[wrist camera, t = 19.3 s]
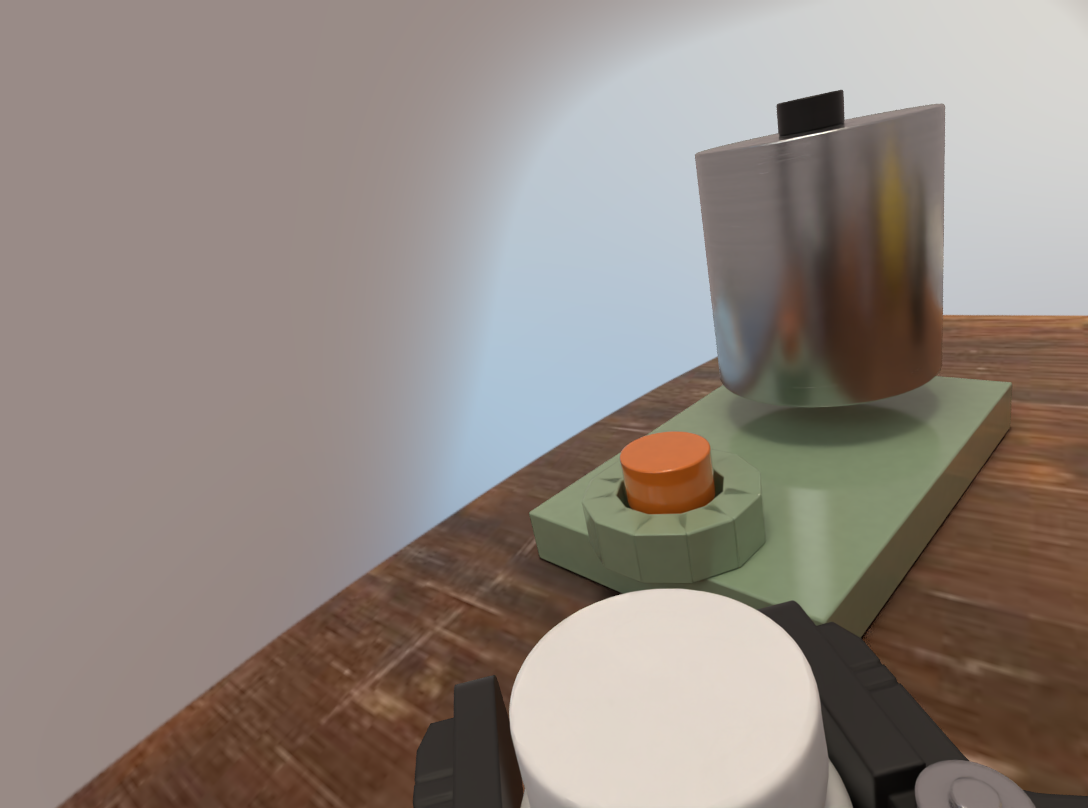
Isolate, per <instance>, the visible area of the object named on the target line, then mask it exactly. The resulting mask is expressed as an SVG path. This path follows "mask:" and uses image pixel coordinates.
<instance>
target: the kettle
mask: <svg viewBox="0 0 1088 808" xmlns="http://www.w3.org/2000/svg"><path fill="white" fill-rule="evenodd" d="M777 118H778V134H773V135H768V136H763V137H759V138H754V139H750V140H745V141H741V142H737V143H732V144H728V145H724V146H720V147H716V148H712V149H708V150H704V151H701V152H698V153H696V154H695V159H696V169H697V177H698V186H699V195H700V204H701V213H702V221H703V230H704V239H705V247H706V257H707V265H708V274H709V283H710V291H711V301H712V309H713V318H714V327H715V335H716V345H717V353H718V362H719V371H720V380H721V382H722V384H723V386H724V387H725V388H726V389H727V390H729V391H730V392H732V393H733V394H735V395H737V396H740V397H742V398H745V399H748V400H751V401H755V402H760V403H765V404H771V405H778V406H788V407H835V406H846V405H855V404H862V403H869V402H874V401H878V400H883V399H887V398H891V397H895V396H898V395H901V394H904V393H907V392H910V391H912V390H915V389H917V388H919V387H921V386H923V385H925V384H927V383H928V382H930V381H931V380H932V379H933V378H935V377H936V376H937V374H938V373H939V372H940V370H941V367H942V337H943V246H944V244H943V242H944V154H945V148H944V147H945V105H944V104H932V105H925V106H919V107H913V108H906V109H901V110H895V111H889V112H884V113H878V114H873V115H867V116H862V117H857V118H852V119H847V120H844V97H843V90H838V91H833V92H829V93H824V94H820V95H815V96H810V97H806V98H801V99H797V100H793V101H788V102H783V103H779V104H777Z"/></svg>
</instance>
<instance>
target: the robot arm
mask: <svg viewBox="0 0 1088 808" xmlns="http://www.w3.org/2000/svg"><path fill="white" fill-rule="evenodd" d="M756 610H757V611H759V612H761V613H762V614H764V615H766V616H767V617H769V618H770V619H771V620H773V621H774V622H775V623H777V624H778V625H779V626H780V627H782V628H783V629H784V630H785V631H786V632H787V633H788V634H789V635H790V636H791V637H792V639H793V640H794V641H795V642H796V643H797V645H798V646H799V648H800V649H801V651H802V652H803V654H804V656H805V657H806V659H807V661H808V663H809V665H810V667H811V670H812V672H813V675H814V678H815V681H816V683H817V687H818V692H819V697H820V704H821V712H822V720H823V727H824V733H825V739H826V745H827V751H828V758H829V759H830V761H831V762H832V764H833V765H834V767H835V768H836V770H837V772H838V773H839V775H840V777H841V779H842V781H843V783H844V785H845V788H846V790H847V792H848V794H849V797H850V799H851V802H852V805H853V808H1088V796H1074V795H1055V794H1042V793H1035V792H1030V791H1025V790H1022V789H1021V788H1020V787H1019V786H1018V785H1017V784H1016V783H1014V782H1013V781H1012V780H1010V779H1009V778H1007V777H1006V776H1004V775H1003V774H1001V773H999V772H998V771H996V770H993V769H991V768H989V767H987V766H984V765H981V764H978V763H974V762H970V761H969V760H968V759H967V758H966V757H965V756H964V755H963V754H962V753H961V752H960V751H959V750H958V749H957V747H956V746H955V745H954V744H953V743H952V742H951V741H950V739H949V738H948V737H947V736H946V735H945V734H944V733H943V731H942V730H941V729H940V728H939V727H938V726H937V725H936V723H935V722H934V721H933V720H932V719H931V718H930V717H929V715H928V714H927V713H926V712H925V711H924V710H923V709H922V707H921V706H920V705H919V704H918V703H917V702H916V701H915V699H914V698H913V697H912V696H911V695H910V694H909V693H908V691H907V690H906V689H905V688H904V687H903V686H902V685H901V683H900V684H898V682H897V680H896V678H895V677H894V675H893V674H892V673H891V672H890V671H889V670H888V669H887V667H886V666H885V665H882V664H881V662H880V659H879V658H878V657H877V656H876V655H875V654H874V653H873V651H872V650H871V649H870V648H869V647H868V646H867V645H866V643H865V642H864V641H863V640H862V639H861V638H860V637H858V636H857V635H855V634H853V633H851V632H850V631H848V630H846V629H845V628H843V627H841V626H839V625H838V624H836V623H834V622H829V623H825V624H821V625H817V626H816V625H815V624H814V622H813V621H812V620H811V619H810V617H809V616H808V615H807V614H806V612H805V611H804V610H803V609H802V607H801V606H800V605H799V604H798V603H797V602H796V601H794V600H792V601H788V602H784V603H780V604H776V605H772V606H768V607H764V608H760V609H756ZM522 799H523V787H522V777H521V772H520V768H519V764H518V760H517V757H516V753H515V749H514V744H513V740H512V736H511V731H510V722H509V718H508V715H507V711H506V708H505V704H504V701H503V697H502V694H501V691H500V687H499V684H498V681H497V678H496V676H495V675H493V676H489V677H485V678H481V679H477V680H473V681H469V682H465V683H461V684H457V685H455V688H454V718H451V719H447V720H443V721H439V722H435V723H431V724H430V726H429V728H428V730H427V732H426V734H425V736H424V738H423V740H422V742H421V744H420V746H419V748H418V750H417V757H416V770H415V786H414V796H413V807H414V808H520V807H521V803H522Z"/></svg>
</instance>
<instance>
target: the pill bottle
mask: <svg viewBox="0 0 1088 808" xmlns="http://www.w3.org/2000/svg"><path fill="white" fill-rule="evenodd" d="M509 717H510V731H511V736H512V740H513V744H514V749H515V753H516V757H517V760H518V764H519V768H520V772H521V776H522V780H523V783H524V786H525V791H524V795H523V799H522V803H521V807H520V808H853V805H852V802H851V799H850V797H849V794H848V792H847V790H846V788H845V785H844V783H843V781H842V779H841V777H840V775H839V773H838V772H837V770H836V768H835V767H834V765H833V764H832V762H831V761H830V759H829V758H828V751H827V745H826V739H825V733H824V727H823V720H822V712H821V704H820V697H819V692H818V687H817V683H816V681H815V678H814V675H813V672H812V670H811V667H810V665H809V663H808V661H807V659H806V657H805V656H804V654H803V652H802V651H801V649H800V648H799V646H798V645H797V643H796V642H795V641H794V640H793V639H792V637H791V636H790V635H789V634H788V633H787V632H786V631H785V630H784V629H783V628H782V627H780V626H779V625H778V624H777V623H775V622H774V621H773V620H771V619H770V618H769V617H767V616H766V615H764V614H762V613H761V612H759V611H757V610H756V609H754V608H752V607H750V606H748V605H746V604H743V603H741V602H739V601H736V600H734V599H731V598H728V597H725V596H721V595H718V594H713V593H709V592H704V591H696V590H688V589H650V590H641V591H635V592H629V593H625V594H621V595H617V596H613V597H610V598H607V599H605V600H602V601H599V602H596V603H594V604H592V605H590V606H588V607H585V608H583V609H581V610H579V611H578V612H576V613H574V614H573V615H571V616H569V617H568V618H566V619H565V620H563V621H562V622H560V623H559V624H558V625H556V626H555V627H554V628H553V629H551V630H550V631H549V632H548V633H547V634H546V635H545V636H544V637H543V638H542V639H541V640H540V641H539V642H538V643H537V645H536V646H535V647H534V648H533V650H532V651H531V652H530V653H529V655H528V656H527V658H526V659H525V661H524V663H523V665H522V667H521V669H520V671H519V673H518V675H517V677H516V680H515V683H514V686H513V690H512V694H511V700H510V709H509Z"/></svg>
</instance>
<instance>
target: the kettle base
mask: <svg viewBox="0 0 1088 808" xmlns="http://www.w3.org/2000/svg"><path fill="white" fill-rule="evenodd" d="M1011 400H1012V383H1010V382H999V381H987V380H975V379H963V378H951V377H939V376H936V377H935V378H933V379H932V380H931V381H930V382H928V383H927V384H925V385H923V386H921V387H919V388H917V389H915V390H912V391H910V392H907V393H904V394H901V395H898V396H895V397H891V398H887V399H883V400H878V401H874V402H869V403H862V404H855V405H846V406H835V407H788V406H778V405H771V404H765V403H760V402H755V401H751V400H748V399H745V398H742V397H740V396H737V395H735V394H733V393H732V392H730V391H729V390H727V389H726V388H725V387H724V386H723V385H722V386H720V387H719V388H717V389H716V390H714V391H713V392H711V393H710V394H708V395H707V396H705V397H704V398H702V399H701V400H699V401H698V402H696V403H695V404H693V405H692V406H690V407H689V408H687V409H685V410H684V411H682V412H681V413H679V414H678V415H676V416H675V417H673V418H672V419H670V420H669V421H667V422H666V423H664V424H663V425H661V426H660V427H658V428H657V429H655V430H654V431H652V432H650V433H649V434H647V435H651V434H655V433H661V432H673V431H679V432H689V433H694V434H697V435H700V436H702V437H703V438H705V439H706V440H707V441H708V442H709V444H710V446H711V454H712V462H713V470H714V478H715V486H716V495H715V497H714V499H713V500H712V501H711V502H709V503H708V504H707V505H706V506H703V507H700V508H697V509H693V510H690V511H687V512H684V513H680V514H646V513H643V512H640V511H636V510H633V509H632V508H631V507H630V506H629V504H628V502H627V497H626V491H625V486H624V480H623V475H622V469H621V463H620V454H621V452H620V453H619V454H617V455H616V456H614V457H612V458H611V459H609V460H608V461H606V462H605V463H603V464H602V465H600V466H599V467H597V468H596V469H594V470H593V471H591V472H590V473H588V474H587V475H585V476H584V477H582V478H581V479H579V480H578V481H576V482H574V483H573V484H571V485H570V486H568V487H567V488H565V489H564V490H562V491H561V492H559V493H558V494H556V495H555V496H553V497H552V498H550V499H549V500H547V501H546V502H544V503H543V504H541V505H539V506H538V507H536V508H535V509H533V510H532V511H530V513H529V515H530V519H531V523H532V528H533V532H534V536H535V540H536V544H537V548H538V553H539V556H540V558H542V559H544V560H547V561H549V562H551V563H554V564H556V565H558V566H560V567H563V568H565V569H567V570H570V571H572V572H574V573H576V574H579V575H581V576H583V577H586V578H588V579H590V580H592V581H595V582H597V583H599V584H602V585H604V586H606V587H608V588H611V589H613V590H615V591H618V592H620V593H622V594H625V593H629V592H635V591H641V590H650V589H688V590H696V591H704V592H709V593H713V594H718V595H721V596H725V597H728V598H731V599H734V600H736V601H739V602H741V603H743V604H746V605H748V606H750V607H752V608H754V609H760V608H764V607H768V606H772V605H776V604H780V603H784V602H788V601H792V600H794V601H796V602H797V603H798V604H799V605H800V606H801V607H802V609H803V610H804V611H805V612H806V614H807V615H808V616H809V617H810V619H811V620H812V621H813V622H814V624H815V625H816V626H817V625H821V624H825V623H829V622H834V623H836V624H838V625H839V626H841V627H843V628H845V629H846V630H848V631H850V632H851V633H853V634H855V635H857V636H858V637H860V638H861V637H862V635H863V634H864V632H865V631H866V630H867V628H868V627H869V625H870V624H871V623H872V621H873V620H874V618H875V617H876V616H877V614H878V613H879V611H880V610H881V609H882V607H883V606H884V604H885V603H886V601H887V600H888V599H889V597H890V596H891V594H892V593H893V592H894V590H895V589H896V587H897V586H898V585H899V583H900V582H901V580H902V579H903V577H904V576H905V575H906V573H907V572H908V570H909V569H910V568H911V566H912V565H913V563H914V562H915V561H916V559H917V558H918V556H919V555H920V553H921V552H922V551H923V549H924V548H925V546H926V545H927V544H928V542H929V541H930V539H931V538H932V537H933V535H934V534H935V532H936V531H937V530H938V528H939V527H940V525H941V524H942V522H943V521H944V520H945V518H946V517H947V515H948V514H949V513H950V511H951V510H952V508H953V507H954V506H955V504H956V503H957V501H958V500H959V498H960V497H961V496H962V494H963V493H964V491H965V490H966V489H967V487H968V486H969V484H970V483H971V482H972V480H973V479H974V477H975V476H976V474H977V473H978V472H979V470H980V469H981V467H982V466H983V465H984V463H985V462H986V460H987V459H988V458H989V456H990V455H991V453H992V452H993V451H994V449H995V448H996V446H997V445H998V443H999V442H1000V441H1001V439H1002V438H1003V436H1004V435H1005V434H1006V432H1007V431H1008V429H1009V428H1010V420H1011ZM647 435H646V436H647Z"/></svg>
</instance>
